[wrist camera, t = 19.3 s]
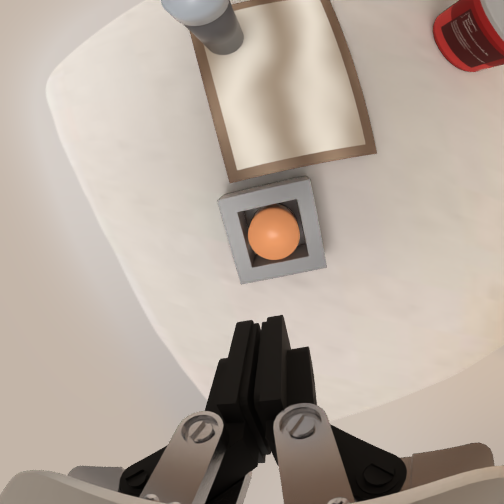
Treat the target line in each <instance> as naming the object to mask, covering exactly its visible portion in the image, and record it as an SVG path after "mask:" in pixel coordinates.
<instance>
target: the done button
mask: <svg viewBox="0 0 504 504" xmlns="http://www.w3.org/2000/svg"><path fill="white" fill-rule="evenodd" d="M299 238H300V232H299V227H298V223H297V220H296V217H295V215H294V214H293V212H292V211H291V210H290V209H288V208H287V207H285V206H283V205H280V204H272V205H267V206H263V207H262V208H260V209H259V210H258V211H257V212H256V213H255V215H254V216H253V219H252V221H251V224H250V227H249V230H248V240H249V243H250V245H251V247H252V249H253V250H254V251H255V252H256V253H257V254H258V255H259V256H261V257H263V258H266V259H269V260H278V259H283V258H285V257H287V256H289V255H290V254H291V253H292V252H293V251H294V250H295V249H296V247H297V245H298V243H299Z"/></svg>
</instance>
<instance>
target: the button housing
mask: <svg viewBox="0 0 504 504" xmlns="http://www.w3.org/2000/svg"><path fill="white" fill-rule="evenodd" d="M295 199H296V200H297V204H298V209H299V214H300V218H301V223H302V228H303V233H304V238H305V243H306V244H303V245H298V246H297V247H296V249H295V250H294V251H293V252H292V253H291V254H290V255H289V256H287V257H285V258H283V259H278V260H269V259H266V258H263V257H261V256H259V255H258V254H255V252H254V250H253V249H252V247H251V245H250V243H249V240H248V230H249V229H248V225H247V222H246V218H245V214H244V211H245V210H249V209H254V208H258V207H263V206H267V205H272V204H276V203H281V202H285V201H290V200H295ZM217 202H218V205H219V209H220V213H221V216H222V220H223V223H224V227H225V230H226V234H227V237H228V241H229V244H230V248H231V251H232V255H233V258H234V262H235V265H236V269H237V272H238V276H239V279H240V283H241V284H246V283H251V282H256V281H262V280H267V279H272V278H277V277H282V276H287V275H292V274H297V273H302V272H307V271H312V270H317V269H322V268H327V265H326V259H325V253H324V248H323V242H322V236H321V231H320V226H319V220H318V215H317V210H316V205H315V200H314V195H313V191H312V186H311V181H310V179H309V178H308V177H307V176H303V177H298V178H293V179H289V180H284V181H279V182H275V183H270V184H266V185H262V186H257V187H253V188H249V189H245V190H241V191H237V192H233V193H229V194H225V195H223V196H222V197H221V198H220V199H218V200H217Z"/></svg>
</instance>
